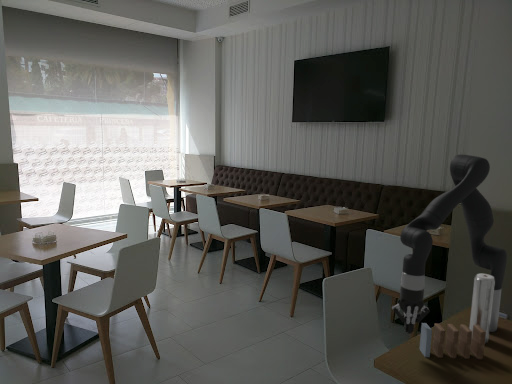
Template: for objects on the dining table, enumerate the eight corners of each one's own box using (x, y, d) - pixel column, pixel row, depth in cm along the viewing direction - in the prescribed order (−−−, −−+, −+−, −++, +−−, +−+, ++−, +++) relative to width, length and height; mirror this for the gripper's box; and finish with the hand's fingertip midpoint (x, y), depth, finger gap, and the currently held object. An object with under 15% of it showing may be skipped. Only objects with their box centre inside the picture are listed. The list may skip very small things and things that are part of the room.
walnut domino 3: (464, 358, 135) (467, 331, 133) (457, 350, 140) (460, 324, 138) (469, 358, 135) (472, 331, 133) (462, 350, 140) (465, 324, 138)
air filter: (488, 337, 149) (495, 274, 146) (488, 345, 144) (495, 280, 140) (468, 332, 152) (475, 271, 149) (468, 340, 147) (474, 276, 143)
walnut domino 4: (478, 359, 135) (481, 331, 133) (470, 351, 140) (473, 324, 138) (482, 359, 135) (485, 331, 133) (475, 351, 140) (478, 324, 138)
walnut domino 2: (451, 358, 135) (454, 330, 133) (445, 350, 140) (447, 323, 138) (456, 358, 135) (458, 331, 133) (449, 350, 140) (452, 324, 138)
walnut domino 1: (438, 357, 135) (440, 330, 134) (432, 349, 140) (434, 323, 138) (442, 357, 135) (445, 330, 134) (436, 349, 140) (439, 323, 138)
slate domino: (424, 349, 140) (426, 323, 139) (429, 357, 135) (432, 330, 134) (419, 349, 140) (421, 322, 139) (424, 357, 135) (427, 329, 134)
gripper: (396, 288, 131) (392, 337, 133) (436, 290, 130) (432, 338, 133) (389, 280, 138) (386, 326, 141) (427, 281, 138) (423, 328, 140)
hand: (408, 332), depth 137 cm, fingers closed
